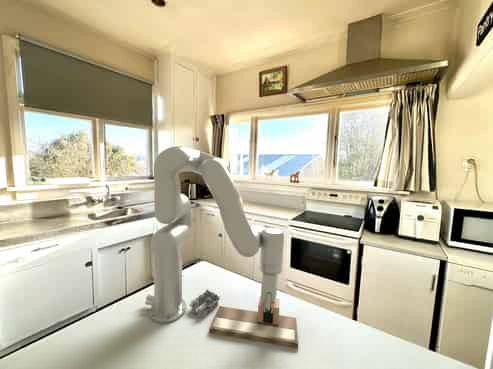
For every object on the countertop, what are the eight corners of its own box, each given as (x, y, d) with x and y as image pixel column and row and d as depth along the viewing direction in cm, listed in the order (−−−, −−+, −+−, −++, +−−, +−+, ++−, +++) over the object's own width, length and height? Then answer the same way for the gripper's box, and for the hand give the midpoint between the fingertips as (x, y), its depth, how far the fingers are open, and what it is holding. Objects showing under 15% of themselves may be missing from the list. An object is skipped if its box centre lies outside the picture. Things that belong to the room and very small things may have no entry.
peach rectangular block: (257, 321, 72) (258, 305, 71) (259, 311, 77) (259, 295, 76) (278, 324, 71) (279, 308, 70) (278, 314, 76) (279, 298, 75)
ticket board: (209, 332, 69) (209, 326, 69) (219, 309, 80) (219, 304, 79) (297, 348, 64) (298, 341, 64) (295, 321, 75) (296, 315, 75)
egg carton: (202, 320, 74) (202, 309, 74) (187, 311, 78) (187, 301, 78) (221, 303, 83) (222, 294, 83) (207, 296, 87) (207, 287, 87)
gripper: (262, 253, 81) (260, 297, 83) (256, 277, 64) (254, 331, 66) (282, 255, 80) (280, 300, 82) (282, 280, 63) (279, 336, 65)
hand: (268, 313), depth 74 cm, fingers open, 7 cm apart
